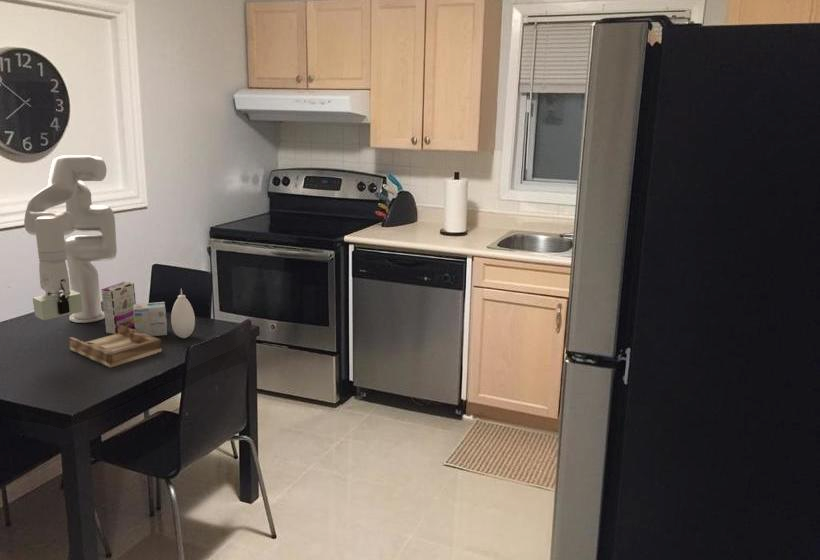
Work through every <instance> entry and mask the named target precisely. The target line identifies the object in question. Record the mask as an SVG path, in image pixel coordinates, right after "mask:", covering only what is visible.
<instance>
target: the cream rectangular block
mask: <svg viewBox="0 0 820 560" xmlns="http://www.w3.org/2000/svg"><path fill="white" fill-rule="evenodd" d="M69 291H70V295H69V301H68V302H69V310H70V312H69V313H65V314H59V313H58V305H57V302H59V301H58V298H57V295H56V294H49V295H46V294H44V295H38V296H35V297H34V296H33V297H32V302H33V303H32V304H33V305H32V306H33V310H34V312H33V313H34V316H35V317H36V318H37V319H40V320H42V321H47V320H50V319H55V318H59V317H64V316H68V315H69V316H70V315H72V314H74V313H78V312H83V311H82V301H81V294H80V293H78V292H76V291H73V290H71V289H69ZM62 295H63V294H60V296H62Z"/></svg>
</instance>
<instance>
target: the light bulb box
mask: <svg viewBox="0 0 820 560" xmlns="http://www.w3.org/2000/svg"><path fill="white" fill-rule="evenodd" d="M133 315H134V326H135V327H134V330H136V331H139V332H142V333H145V334H147V335H150V336H153V337H158V336H159V337H160V336H167V335H168V321H167V310H166V302H165V301H158V302H149V303H148V302H147V303H146V302H145V303H136V304H134V306H133Z"/></svg>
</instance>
